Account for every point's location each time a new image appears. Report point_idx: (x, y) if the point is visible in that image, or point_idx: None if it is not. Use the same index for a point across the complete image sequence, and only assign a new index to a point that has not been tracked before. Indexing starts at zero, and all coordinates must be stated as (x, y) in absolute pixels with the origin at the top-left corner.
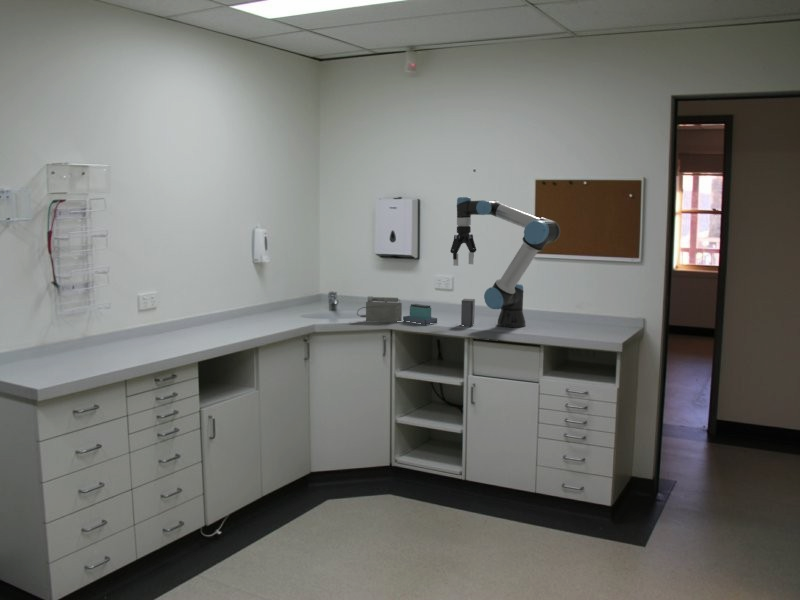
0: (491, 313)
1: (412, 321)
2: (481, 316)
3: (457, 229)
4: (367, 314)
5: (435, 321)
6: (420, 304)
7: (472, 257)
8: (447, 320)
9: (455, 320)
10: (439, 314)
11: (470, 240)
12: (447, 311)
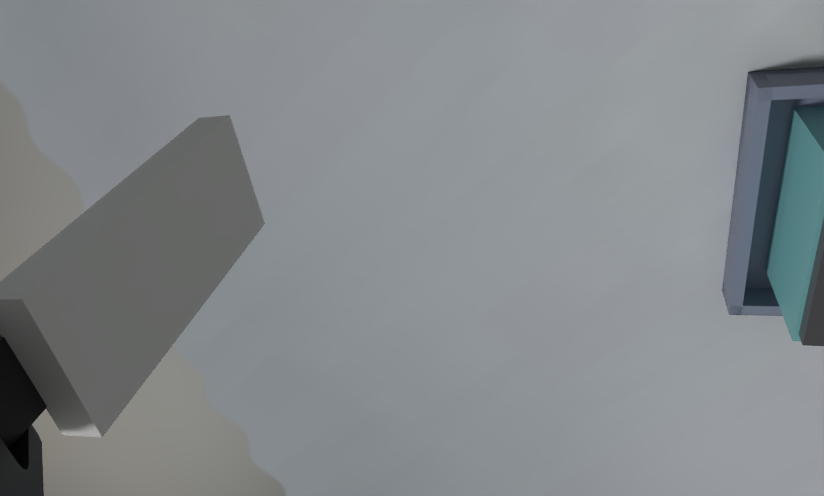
0: (56, 142)
1: None
2: (193, 94)
3: None
4: None
5: (776, 77)
6: (819, 291)
7: (135, 203)
8: (546, 126)
9: (494, 85)
10: (390, 325)
11: None
12: (268, 360)
